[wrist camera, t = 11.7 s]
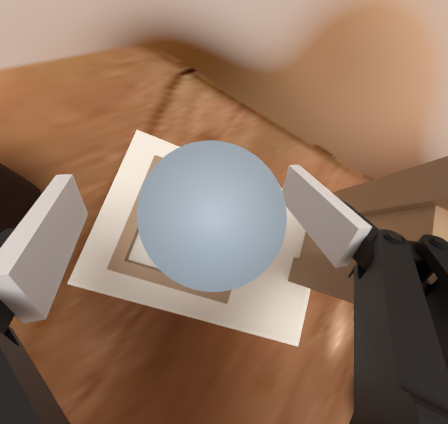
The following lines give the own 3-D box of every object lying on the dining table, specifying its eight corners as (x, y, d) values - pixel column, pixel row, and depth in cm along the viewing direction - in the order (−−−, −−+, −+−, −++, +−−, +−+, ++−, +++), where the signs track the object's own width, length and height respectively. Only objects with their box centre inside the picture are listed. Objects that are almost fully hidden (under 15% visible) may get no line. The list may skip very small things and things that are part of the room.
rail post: (153, 247, 20) (109, 264, 6) (173, 197, 21) (171, 117, 7) (204, 264, 21) (264, 310, 7) (221, 215, 22) (301, 173, 8)
